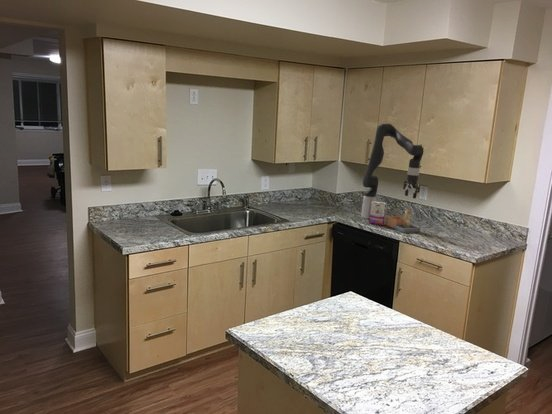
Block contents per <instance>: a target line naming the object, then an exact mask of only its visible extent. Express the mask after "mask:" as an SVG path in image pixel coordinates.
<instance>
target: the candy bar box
mask: <svg viewBox="0 0 552 414" xmlns="http://www.w3.org/2000/svg"><path fill="white" fill-rule="evenodd" d="M387 210H388V203H387V202H383V201H376V200H375V201H372V202H371V209H370V219H369V221H368V223H369V224H371V225H376V226H385V225H386V223H387V222H386V220H387Z"/></svg>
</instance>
